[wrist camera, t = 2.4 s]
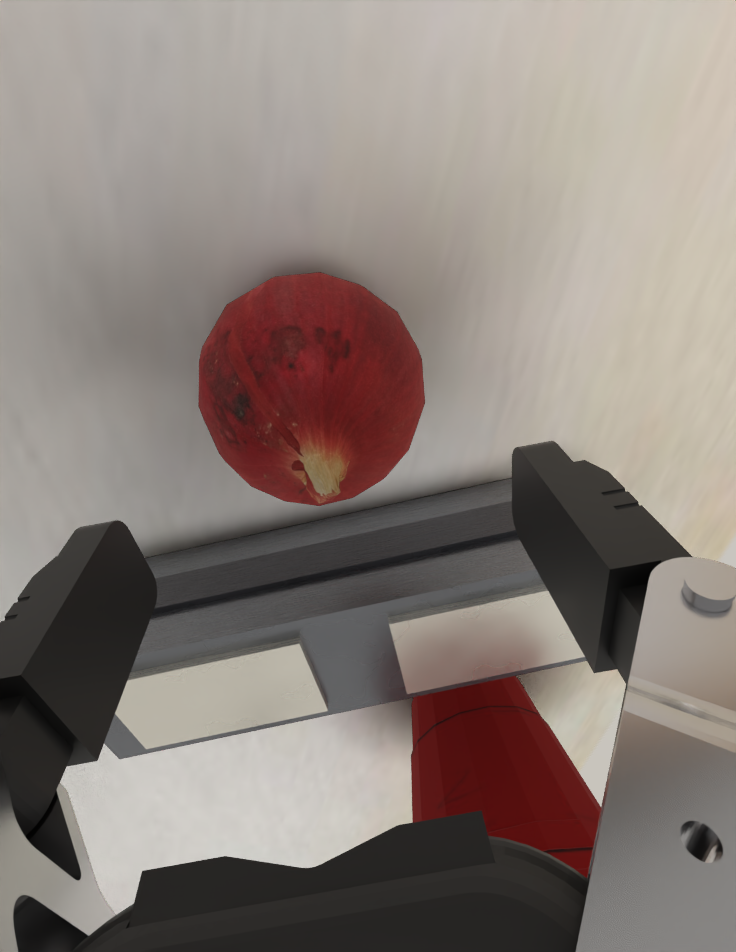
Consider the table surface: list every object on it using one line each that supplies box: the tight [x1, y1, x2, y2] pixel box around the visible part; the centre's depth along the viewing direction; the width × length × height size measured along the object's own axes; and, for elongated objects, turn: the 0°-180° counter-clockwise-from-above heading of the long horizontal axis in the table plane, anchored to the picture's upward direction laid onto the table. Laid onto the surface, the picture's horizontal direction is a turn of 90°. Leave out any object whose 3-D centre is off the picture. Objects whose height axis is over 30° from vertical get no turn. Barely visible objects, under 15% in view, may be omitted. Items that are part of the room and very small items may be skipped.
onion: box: [199, 272, 425, 506], centre depth 13 cm, size 6×6×8 cm
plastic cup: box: [411, 676, 601, 878], centre depth 22 cm, size 11×11×12 cm
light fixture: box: [104, 478, 587, 759], centre depth 19 cm, size 6×20×5 cm, turn 101°
